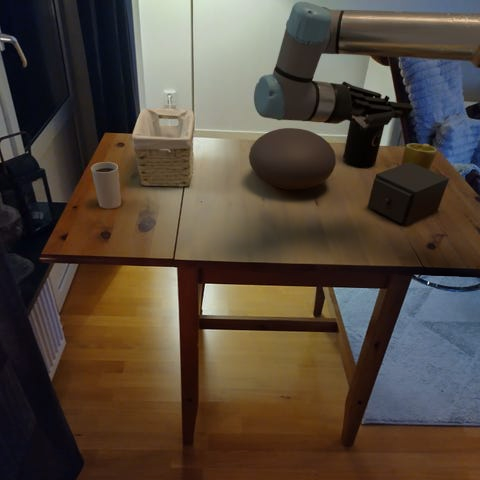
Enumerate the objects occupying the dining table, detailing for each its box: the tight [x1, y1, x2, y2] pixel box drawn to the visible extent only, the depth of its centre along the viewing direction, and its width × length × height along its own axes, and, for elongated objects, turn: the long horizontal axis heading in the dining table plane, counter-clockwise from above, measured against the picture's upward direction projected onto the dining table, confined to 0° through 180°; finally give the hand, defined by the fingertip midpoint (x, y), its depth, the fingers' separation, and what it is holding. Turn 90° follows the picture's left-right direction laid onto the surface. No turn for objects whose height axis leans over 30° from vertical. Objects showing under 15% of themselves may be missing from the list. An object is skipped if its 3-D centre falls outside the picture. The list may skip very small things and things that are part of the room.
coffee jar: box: [343, 121, 385, 169], centre depth 145 cm, size 11×11×18 cm
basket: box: [131, 108, 195, 188], centre depth 135 cm, size 24×16×15 cm
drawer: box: [367, 178, 412, 224], centre depth 123 cm, size 15×11×8 cm
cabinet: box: [367, 162, 450, 227], centre depth 124 cm, size 15×13×10 cm
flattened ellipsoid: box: [248, 127, 337, 190], centre depth 132 cm, size 25×25×15 cm
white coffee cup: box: [90, 161, 122, 210], centre depth 120 cm, size 7×7×10 cm
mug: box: [401, 142, 437, 171], centre depth 145 cm, size 12×10×10 cm
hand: (408, 111), depth 105 cm, fingers closed
